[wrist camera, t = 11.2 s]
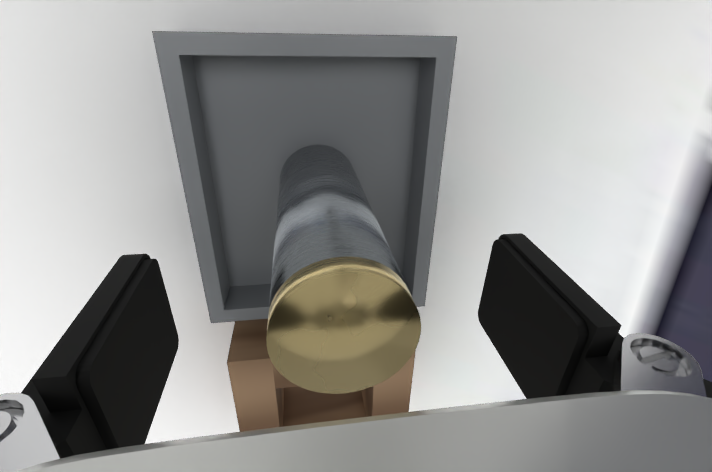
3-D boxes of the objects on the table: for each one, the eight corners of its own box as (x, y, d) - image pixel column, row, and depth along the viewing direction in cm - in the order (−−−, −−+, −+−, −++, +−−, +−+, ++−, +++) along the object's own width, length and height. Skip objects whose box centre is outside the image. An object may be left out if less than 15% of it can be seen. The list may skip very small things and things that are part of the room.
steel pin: (277, 145, 19) (258, 279, 9) (356, 143, 20) (428, 268, 9) (282, 218, 21) (273, 400, 11) (355, 214, 22) (414, 385, 11)
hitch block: (239, 302, 24) (226, 362, 20) (395, 291, 26) (415, 344, 21) (255, 411, 29) (248, 479, 24) (387, 396, 30) (403, 458, 26)
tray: (173, 31, 17) (152, 31, 15) (434, 36, 19) (457, 36, 16) (220, 290, 24) (210, 322, 21) (410, 277, 25) (424, 306, 23)
